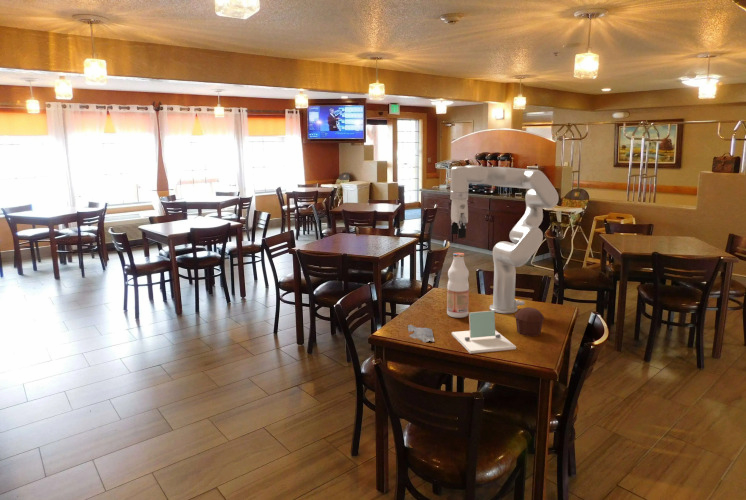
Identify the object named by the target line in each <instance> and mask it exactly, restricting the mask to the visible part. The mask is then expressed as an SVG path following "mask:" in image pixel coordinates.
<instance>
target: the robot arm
mask: <svg viewBox="0 0 746 500" xmlns="http://www.w3.org/2000/svg"><path fill="white" fill-rule="evenodd" d="M470 184H477V185H479V184H483V185H489V186H494V187H501V188H512V189H513V188H517V189H527V191H526V192H525V196H524V197H525V198H524V199H525V212H524V214H523V215H522V217H520V219H519V220H518V221H517V223H516V224H514V226H513V227H512V229H511V230H510V231H509V236H508V237H509V240H510V241H511V242H509V241H504V240H503V241H499V242H497V243H496V244H495V245H494V246H493V248H492V258H493V259H492V260H493V268H494V269H493V293H492V294H493V295H492V296H493V297H492V301H493V302H492V304H490V305H489V311H494V313H498V314H513V313H517V312H518V311H519V309H518V306H524V305H525V304H526V303H525V300H519V299H515V298H516V279H517V278H516V276H517V275H516V273H517V271H516V268H517V267H518V268H519V267H520V268H521V267H523V266H524V265H525V264H526V263H527V262H528V261H529V260H530V258H531V257H532V256H534V254H535V253H536V251H537V250H538V249H539V248H540V246H541V244H542V242H543V238H544V235H543V234H544V233H543V231H542V230H541V229H540V228H539V226H540V225H541V224H542V222H543V218H544V213H543V212H544V211H543V209H553V208H555V207H556V206H557V205H558V203H559V198H560V197H559V193H558V192H557V191H558V190H557V189H555V186H554V185H553V184H552V182H551V181H550V180H549V178H548V177H547V176H546V174H545V173H544V172H543V171H542V170H540V169H528V168H518V167H517V168H516V167H509V166H507V167H506V166H482V165H474V164H473V165H471V164H469V165H468V164H467V165H464V166H456V165H455V166H452V167H451V169H450V186H449V187H450V190H449V191H450V196H449V197H450V198H449V199H450V200H451V205H450V207H451V209H450V219H451V220H450V222H451V223H450V225H451V226H450V228H451V230H450V233H451V235H457V238H458V239H465V238H466V237H467V236H466V234H467V224H468V222H469V206H468V204H469V203H468V201H469V185H470Z"/></svg>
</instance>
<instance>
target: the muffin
mask: <svg viewBox="0 0 746 500" xmlns="http://www.w3.org/2000/svg"><path fill="white" fill-rule="evenodd" d="M514 318H515V321H516V322H515V324H516V333H518V334H519V335H522V336H525V337H538V336H540V335H541V332H542V327H543V323H544V321H545V318H546V317H545V316H544V315H543V314H542V312H541V311H540V310H538V309H537V308H534V307H524V308H523V307H522V308H521V309H518V311H517V312H516V313H515V314H514Z"/></svg>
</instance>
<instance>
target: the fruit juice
mask: <svg viewBox="0 0 746 500" xmlns="http://www.w3.org/2000/svg"><path fill="white" fill-rule="evenodd" d="M452 257H453V259H452V262H451V265H450V267H449V269H448V271H447V277H448V281H447V287H446V288H447V290H446V292H447V295H446V313H447V315H448V316H449V317H451V318H456V319H457V318H460V319H461V318H466V317H468V316H469V301H470V300H469V298H470V297H469V296H470V295H469V294H470V293H469V291H470V285H469V281H468V278H469V276H470V271H469V269H468V268H467V266H466V263H465V259H464V258H465V253H464V252H454V253H452Z"/></svg>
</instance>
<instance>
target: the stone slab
mask: <svg viewBox="0 0 746 500" xmlns="http://www.w3.org/2000/svg"><path fill="white" fill-rule="evenodd" d="M407 330H408V334H409V333H411V334H409V335H408V337H409V338H412V339H417V340H419V341H421V342H422V343H427V342H429V341H430V342H432V343H435V338H434V333H433V329H432V328H429V327H417V326H414V325H412V324H409V325H407ZM412 332H413V333H412Z"/></svg>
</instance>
